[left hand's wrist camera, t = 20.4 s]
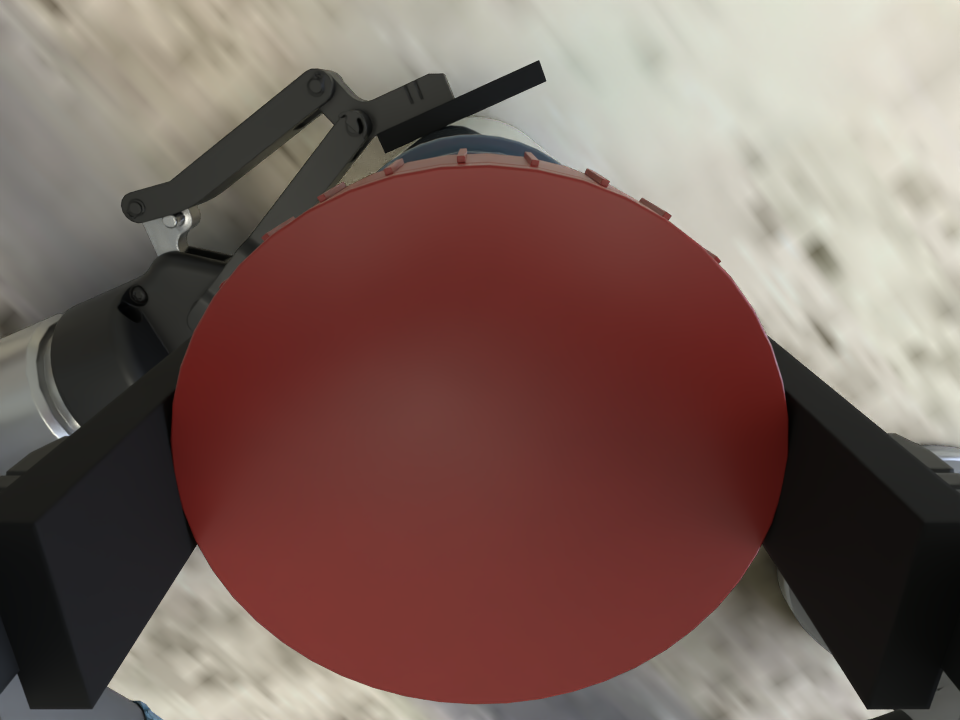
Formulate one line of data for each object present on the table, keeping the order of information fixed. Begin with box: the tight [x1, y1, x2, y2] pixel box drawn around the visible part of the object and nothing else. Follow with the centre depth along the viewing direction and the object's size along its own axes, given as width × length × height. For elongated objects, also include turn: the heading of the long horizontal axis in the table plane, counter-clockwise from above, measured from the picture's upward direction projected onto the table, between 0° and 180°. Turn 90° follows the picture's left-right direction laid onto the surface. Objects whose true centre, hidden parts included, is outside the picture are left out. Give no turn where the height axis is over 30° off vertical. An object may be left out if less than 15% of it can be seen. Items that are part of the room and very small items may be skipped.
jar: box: [376, 117, 563, 173], centre depth 25 cm, size 9×9×16 cm
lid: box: [171, 148, 788, 704], centre depth 11 cm, size 10×10×2 cm
